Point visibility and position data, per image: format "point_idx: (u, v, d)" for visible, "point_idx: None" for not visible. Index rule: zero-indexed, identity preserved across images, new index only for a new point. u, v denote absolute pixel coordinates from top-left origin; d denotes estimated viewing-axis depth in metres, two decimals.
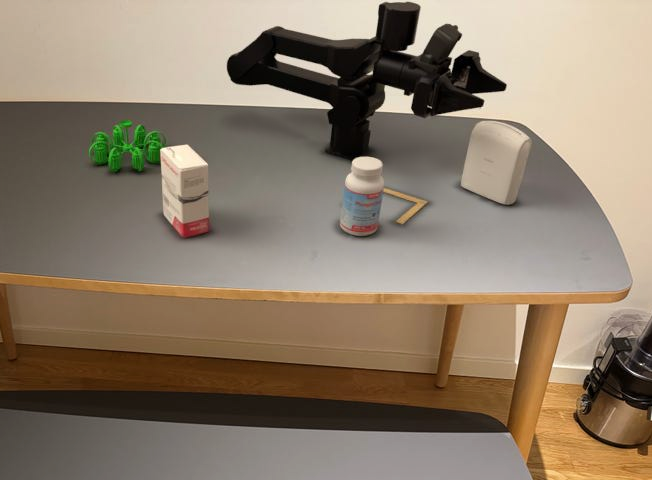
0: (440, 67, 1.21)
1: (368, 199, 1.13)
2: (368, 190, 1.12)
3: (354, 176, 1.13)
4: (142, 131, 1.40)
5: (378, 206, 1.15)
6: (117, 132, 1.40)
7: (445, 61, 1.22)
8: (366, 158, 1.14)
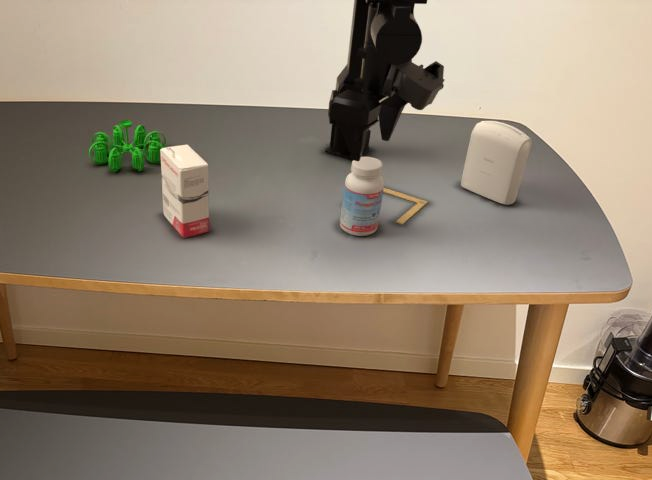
0: None
1: (368, 199, 1.13)
2: (368, 190, 1.12)
3: (354, 176, 1.13)
4: (142, 131, 1.40)
5: (378, 206, 1.15)
6: (117, 132, 1.40)
7: None
8: (366, 158, 1.14)
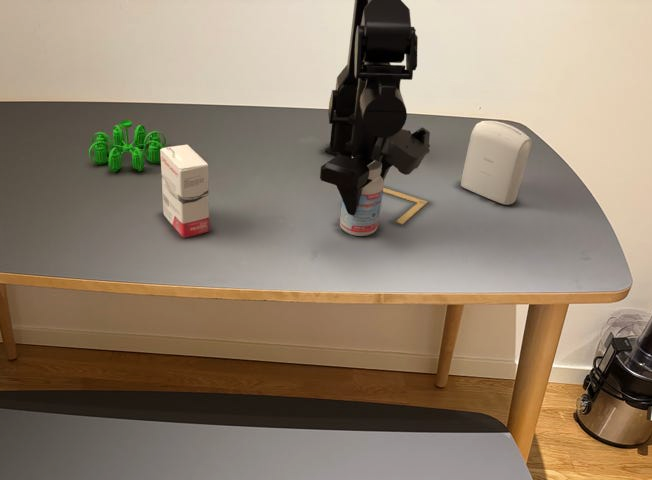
0: None
1: (367, 199, 1.13)
2: (368, 191, 1.12)
3: None
4: (142, 131, 1.40)
5: (378, 206, 1.15)
6: (117, 132, 1.40)
7: None
8: None
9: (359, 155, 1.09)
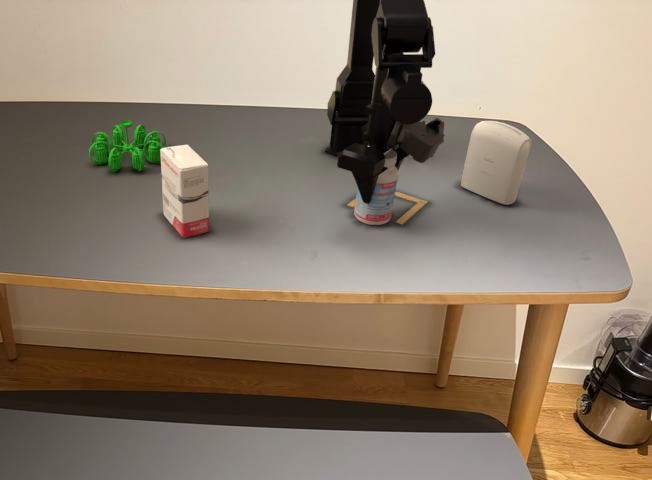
0: None
1: (382, 188, 1.15)
2: (383, 179, 1.15)
3: None
4: (142, 131, 1.40)
5: (392, 196, 1.17)
6: (117, 132, 1.40)
7: None
8: None
9: (375, 144, 1.12)
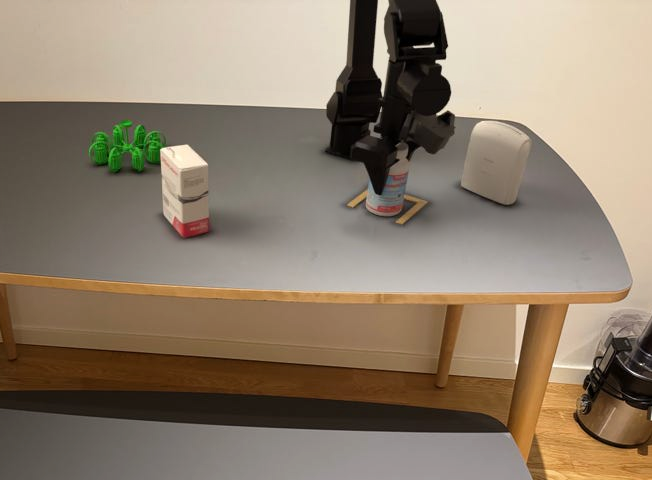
0: None
1: (394, 180, 1.18)
2: (394, 171, 1.17)
3: None
4: (142, 131, 1.40)
5: (403, 187, 1.20)
6: (117, 132, 1.40)
7: None
8: None
9: (387, 136, 1.14)
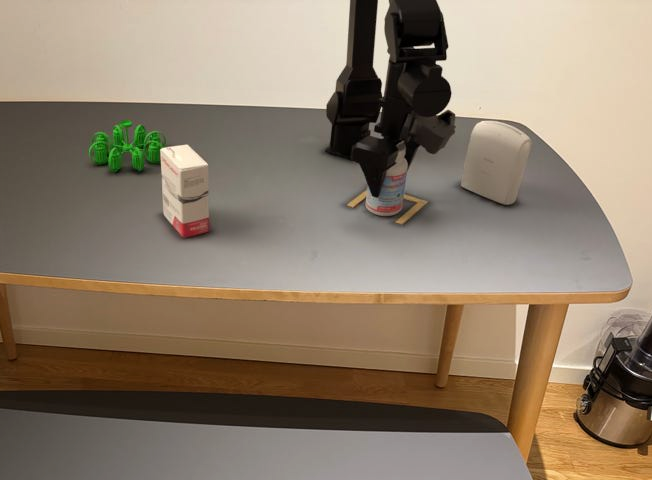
0: None
1: (392, 181, 1.17)
2: (392, 172, 1.16)
3: None
4: (142, 131, 1.40)
5: (402, 187, 1.19)
6: (117, 132, 1.40)
7: None
8: None
9: (388, 136, 1.14)
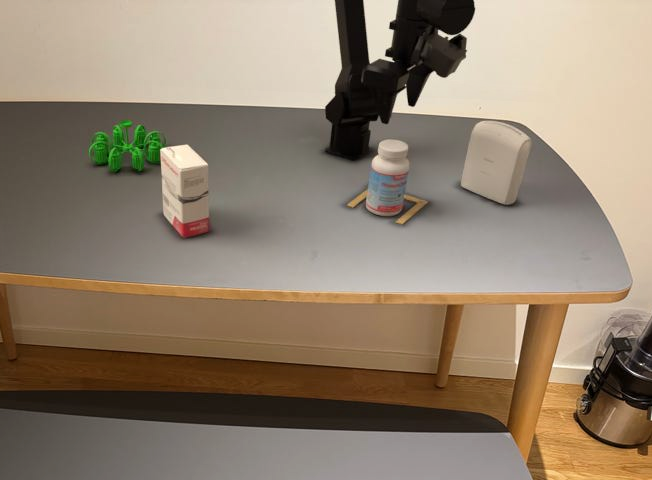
0: None
1: (394, 180, 1.18)
2: (394, 171, 1.17)
3: (381, 158, 1.18)
4: (142, 131, 1.40)
5: (403, 187, 1.20)
6: (117, 132, 1.40)
7: None
8: (392, 141, 1.18)
9: (399, 60, 1.15)
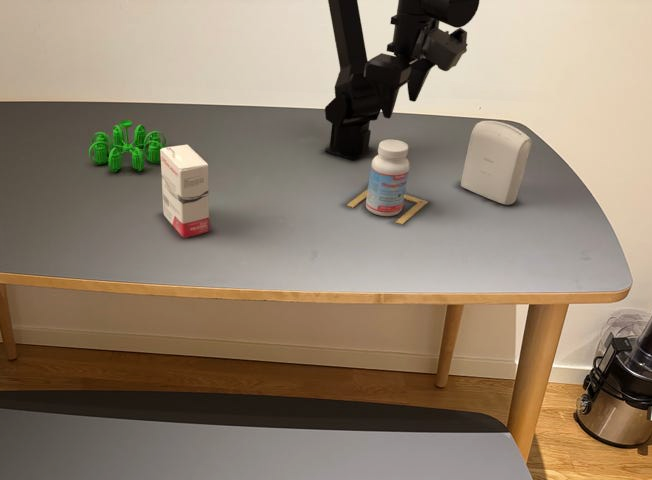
0: None
1: (394, 180, 1.18)
2: (394, 171, 1.17)
3: (381, 158, 1.18)
4: (142, 131, 1.40)
5: (403, 187, 1.20)
6: (117, 132, 1.40)
7: None
8: (392, 141, 1.18)
9: (400, 54, 1.16)
